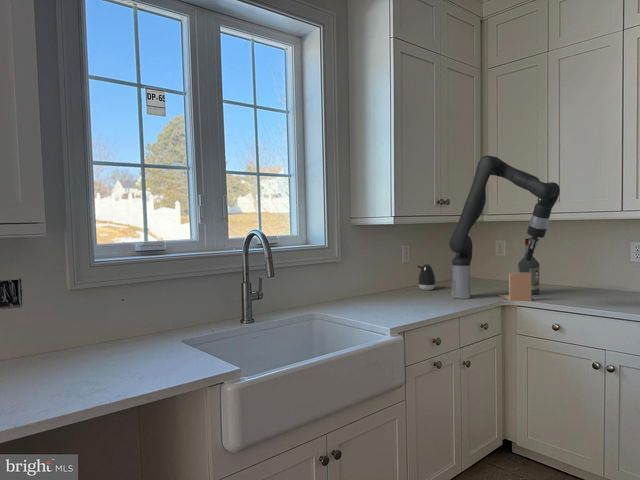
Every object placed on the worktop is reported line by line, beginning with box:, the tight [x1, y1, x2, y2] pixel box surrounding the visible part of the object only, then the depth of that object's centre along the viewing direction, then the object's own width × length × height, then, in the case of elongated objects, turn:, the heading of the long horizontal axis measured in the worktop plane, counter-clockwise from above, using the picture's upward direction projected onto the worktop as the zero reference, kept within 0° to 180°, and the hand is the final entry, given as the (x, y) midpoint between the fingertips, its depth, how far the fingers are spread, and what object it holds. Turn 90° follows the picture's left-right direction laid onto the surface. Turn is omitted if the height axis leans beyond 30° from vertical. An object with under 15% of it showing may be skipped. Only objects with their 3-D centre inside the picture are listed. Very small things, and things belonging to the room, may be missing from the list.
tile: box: [508, 272, 532, 302], centre depth 218 cm, size 10×2×14 cm, turn 83°
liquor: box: [517, 237, 540, 296], centre depth 237 cm, size 9×9×30 cm
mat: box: [497, 294, 534, 301], centre depth 226 cm, size 14×12×1 cm
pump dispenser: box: [417, 263, 437, 291], centre depth 257 cm, size 10×10×15 cm
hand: (528, 259), depth 205 cm, fingers closed
